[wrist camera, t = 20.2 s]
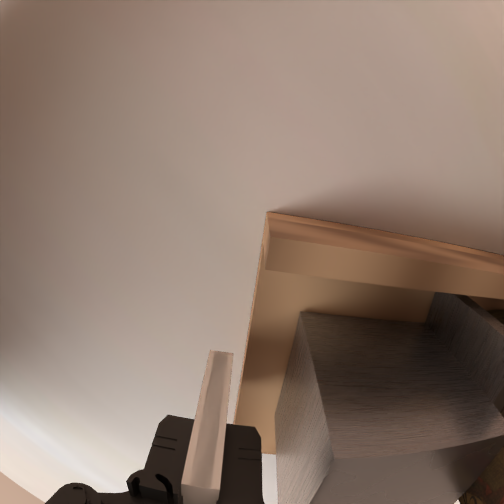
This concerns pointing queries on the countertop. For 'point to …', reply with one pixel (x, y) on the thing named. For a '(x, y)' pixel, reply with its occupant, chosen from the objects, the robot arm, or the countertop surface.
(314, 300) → the rack
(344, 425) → the bookend
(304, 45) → the countertop surface
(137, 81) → the countertop surface
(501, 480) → the container
